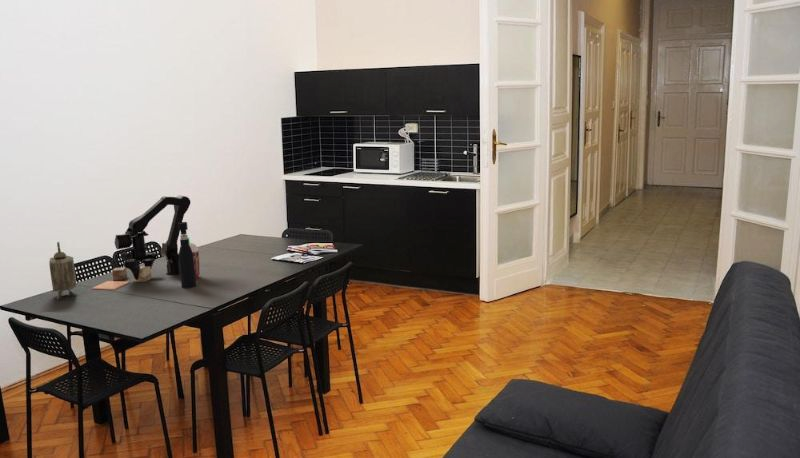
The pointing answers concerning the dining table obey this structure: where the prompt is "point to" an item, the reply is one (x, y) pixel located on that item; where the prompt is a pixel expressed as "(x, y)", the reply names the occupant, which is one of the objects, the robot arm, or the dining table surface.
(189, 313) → the dining table surface
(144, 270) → the maple block
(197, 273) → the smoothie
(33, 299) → the dining table surface
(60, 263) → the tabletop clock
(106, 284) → the terracotta tile
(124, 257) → the robot arm
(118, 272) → the walnut block
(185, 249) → the wine bottle
